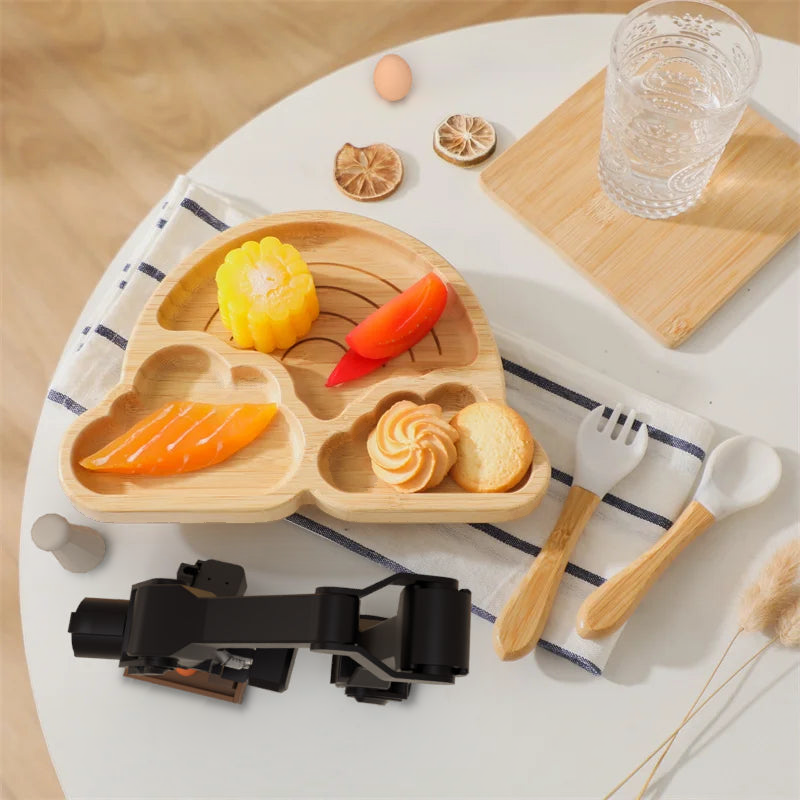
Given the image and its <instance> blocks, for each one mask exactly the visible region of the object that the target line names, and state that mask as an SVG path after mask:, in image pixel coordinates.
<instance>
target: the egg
mask: <svg viewBox="0 0 800 800" xmlns="http://www.w3.org/2000/svg"><path fill="white" fill-rule="evenodd" d="M372 77H373V85H374V89H375V91H376V92H377V93H378V95H379V96H380V97H381V98H383V99H385V100H387V101H392V102H393V101H394V102H395V101H399V100H401V99H403V98H404V97H406V96H407V95H408V94H409V92H410V90H411V87H412V84H413V74H412V70H411V67H410V65H409V64H408V62H407V61H406V60H405V59H404V58H403V57H402V56H400V55H398V54H395V53H389V54H386V55H384V56H382V57H381V59H379V60H378V62H377V63H376V65H375V67H374V69H373V75H372Z"/></svg>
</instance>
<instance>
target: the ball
mask: <svg viewBox="0 0 800 800" xmlns="http://www.w3.org/2000/svg"><path fill="white" fill-rule="evenodd" d="M176 671H177V672H178V673H179V674H181V675H183V676H190V675H193V674H194V673H196V672H197V671H198V670H193V669H188V670H185V669H181V668H177V669H176Z"/></svg>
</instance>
